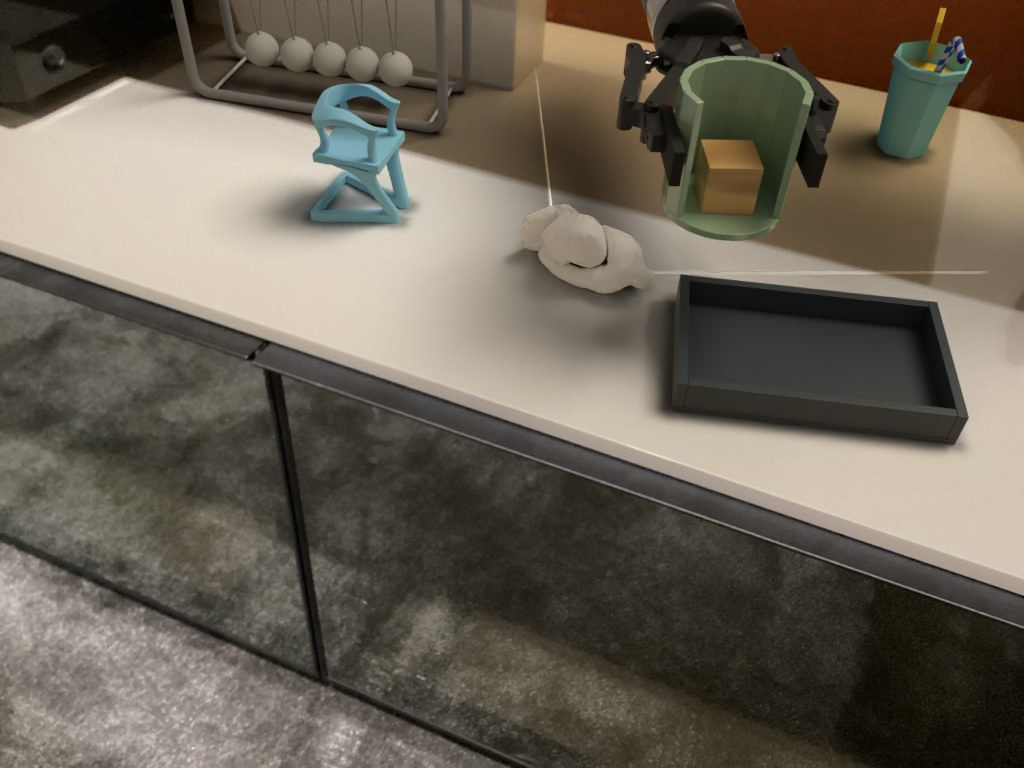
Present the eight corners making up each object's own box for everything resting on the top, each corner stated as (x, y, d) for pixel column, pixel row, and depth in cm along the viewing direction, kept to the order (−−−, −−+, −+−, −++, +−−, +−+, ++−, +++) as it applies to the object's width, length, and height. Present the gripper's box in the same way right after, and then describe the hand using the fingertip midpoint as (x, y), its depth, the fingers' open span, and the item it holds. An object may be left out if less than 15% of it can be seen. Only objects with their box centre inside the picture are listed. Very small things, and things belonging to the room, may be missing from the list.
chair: (390, 237, 90) (382, 122, 82) (309, 220, 92) (292, 106, 83) (419, 194, 96) (414, 81, 87) (342, 178, 97) (330, 66, 89)
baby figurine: (662, 303, 85) (631, 262, 78) (538, 317, 90) (498, 280, 83) (664, 216, 88) (634, 169, 81) (543, 234, 93) (505, 191, 86)
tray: (925, 329, 83) (937, 301, 81) (954, 445, 74) (969, 417, 71) (674, 301, 85) (680, 273, 83) (671, 411, 75) (677, 383, 73)
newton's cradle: (190, 97, 108) (153, -68, 96) (231, 56, 115) (202, -103, 103) (446, 137, 103) (443, -30, 91) (473, 92, 111) (473, -69, 98)
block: (692, 184, 75) (700, 139, 73) (742, 185, 76) (752, 139, 73) (700, 214, 73) (709, 168, 70) (752, 214, 73) (764, 168, 70)
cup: (951, 193, 99) (1009, 54, 88) (874, 186, 99) (922, 47, 88) (925, 124, 108) (975, -8, 98) (856, 118, 109) (897, -14, 98)
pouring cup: (653, 172, 78) (671, 54, 71) (766, 173, 78) (795, 56, 71) (670, 240, 71) (691, 118, 64) (793, 241, 71) (828, 120, 64)
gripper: (810, 71, 86) (886, 216, 70) (565, 67, 85) (586, 214, 69) (832, -13, 81) (919, 124, 65) (572, -18, 80) (596, 119, 64)
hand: (747, 170), depth 67 cm, fingers closed on pouring cup, 9 cm apart
